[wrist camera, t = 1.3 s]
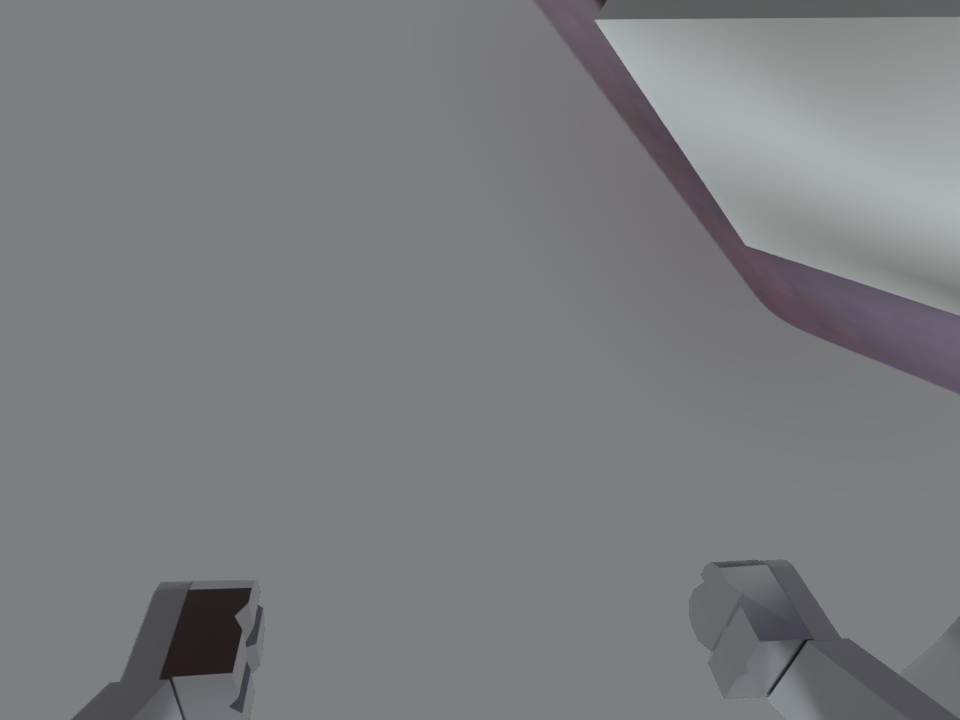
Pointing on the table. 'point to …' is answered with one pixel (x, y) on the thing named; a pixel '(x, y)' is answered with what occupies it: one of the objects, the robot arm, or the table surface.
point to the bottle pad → (816, 126)
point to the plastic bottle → (939, 670)
